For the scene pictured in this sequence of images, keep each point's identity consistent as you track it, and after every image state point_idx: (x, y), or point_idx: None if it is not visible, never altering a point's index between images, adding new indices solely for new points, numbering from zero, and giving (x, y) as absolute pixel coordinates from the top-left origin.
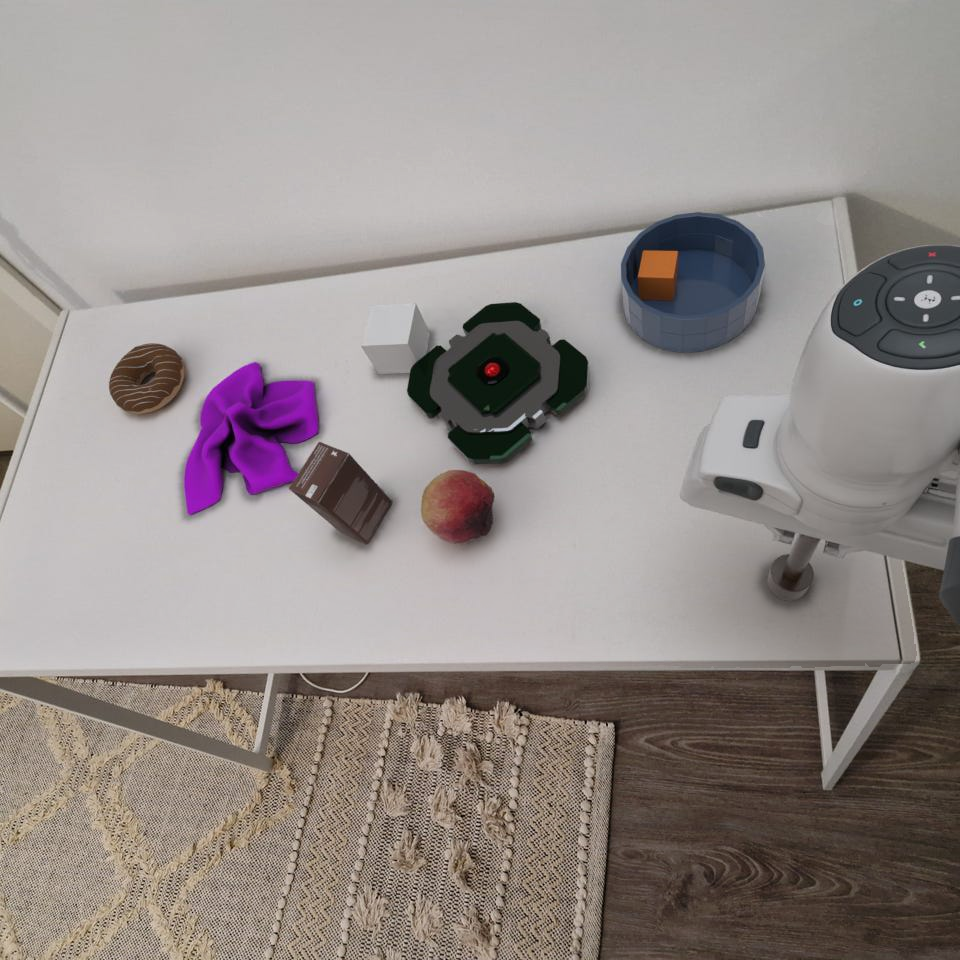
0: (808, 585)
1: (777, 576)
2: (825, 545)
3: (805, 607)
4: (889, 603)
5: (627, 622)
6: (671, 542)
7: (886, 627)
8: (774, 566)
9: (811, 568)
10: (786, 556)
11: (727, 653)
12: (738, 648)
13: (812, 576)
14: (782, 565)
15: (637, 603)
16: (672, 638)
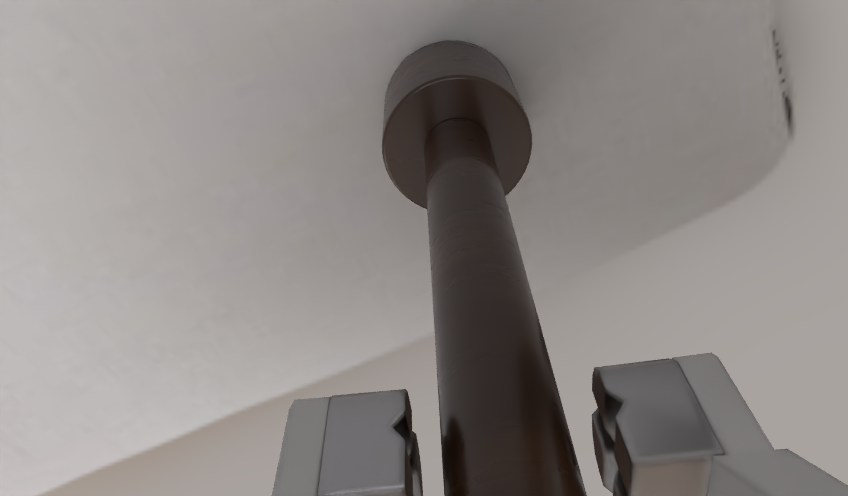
0: (523, 171)
1: (415, 182)
2: (605, 456)
3: None
4: (769, 37)
5: (109, 380)
6: (47, 129)
7: (761, 118)
8: (392, 154)
9: (516, 106)
10: (417, 100)
11: (374, 347)
12: (394, 327)
13: (528, 136)
14: (416, 138)
15: (96, 332)
16: (233, 369)
